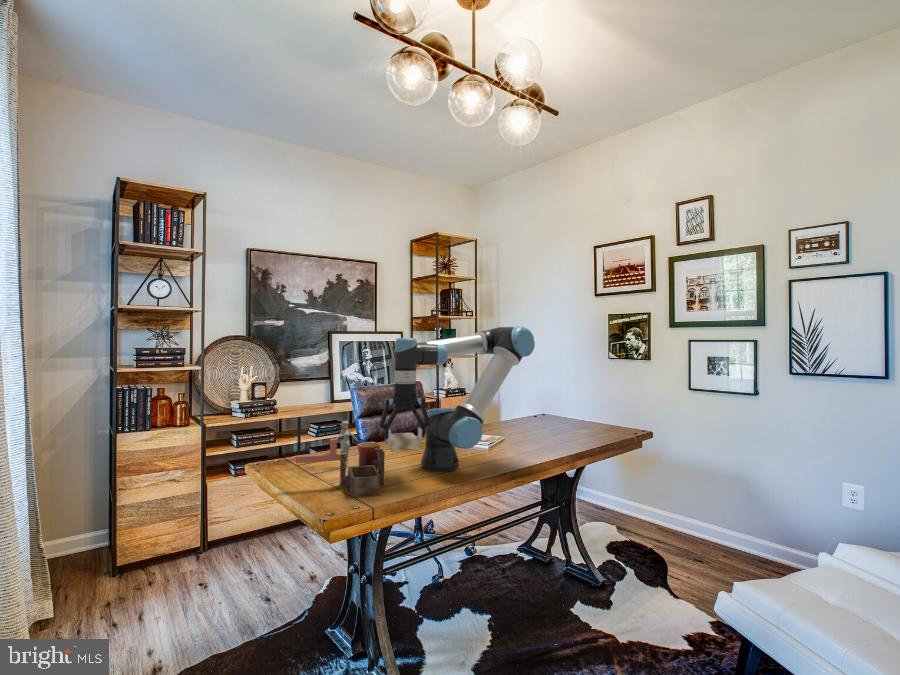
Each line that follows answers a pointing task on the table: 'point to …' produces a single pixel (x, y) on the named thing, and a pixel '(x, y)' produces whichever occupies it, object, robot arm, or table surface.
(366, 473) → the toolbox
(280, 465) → the table surface
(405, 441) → the lid
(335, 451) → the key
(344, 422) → the human figurine
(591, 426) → the table surface
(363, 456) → the mug
